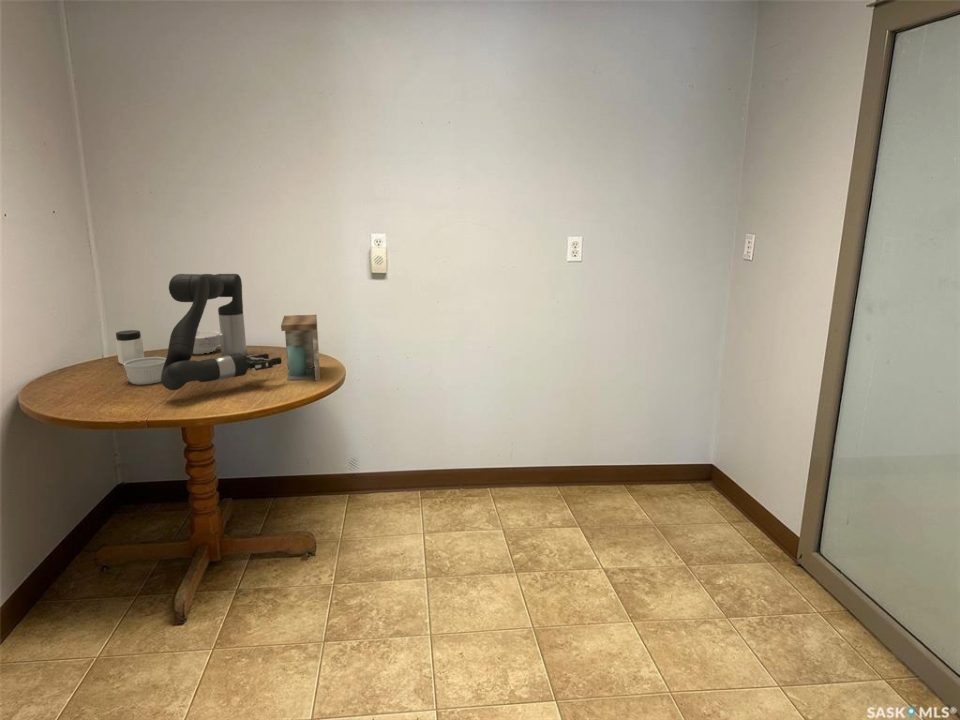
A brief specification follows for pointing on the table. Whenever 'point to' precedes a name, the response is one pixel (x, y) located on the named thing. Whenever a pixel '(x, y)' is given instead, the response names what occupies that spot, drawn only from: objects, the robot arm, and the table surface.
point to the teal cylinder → (297, 360)
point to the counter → (303, 338)
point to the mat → (308, 376)
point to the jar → (129, 345)
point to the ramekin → (145, 370)
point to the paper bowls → (206, 342)
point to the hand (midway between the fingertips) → (274, 358)
